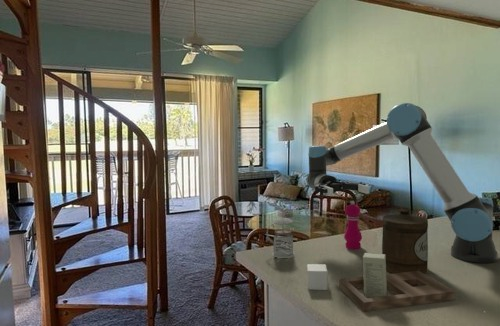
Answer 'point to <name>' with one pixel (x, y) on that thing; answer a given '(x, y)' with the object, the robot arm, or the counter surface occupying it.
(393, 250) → the wooden container
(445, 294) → the walnut plate
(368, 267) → the skincare box
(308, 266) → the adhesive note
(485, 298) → the counter surface
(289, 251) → the french press
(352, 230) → the pepper mill
